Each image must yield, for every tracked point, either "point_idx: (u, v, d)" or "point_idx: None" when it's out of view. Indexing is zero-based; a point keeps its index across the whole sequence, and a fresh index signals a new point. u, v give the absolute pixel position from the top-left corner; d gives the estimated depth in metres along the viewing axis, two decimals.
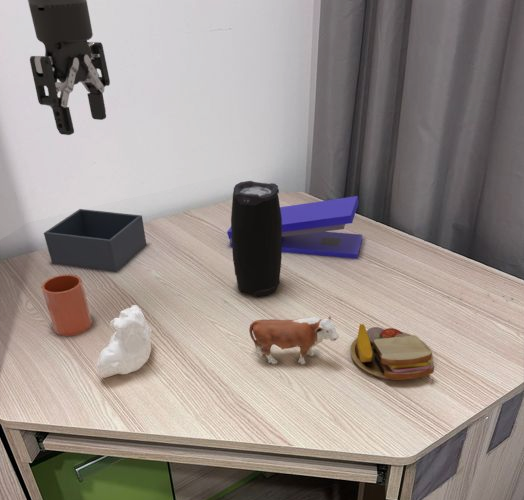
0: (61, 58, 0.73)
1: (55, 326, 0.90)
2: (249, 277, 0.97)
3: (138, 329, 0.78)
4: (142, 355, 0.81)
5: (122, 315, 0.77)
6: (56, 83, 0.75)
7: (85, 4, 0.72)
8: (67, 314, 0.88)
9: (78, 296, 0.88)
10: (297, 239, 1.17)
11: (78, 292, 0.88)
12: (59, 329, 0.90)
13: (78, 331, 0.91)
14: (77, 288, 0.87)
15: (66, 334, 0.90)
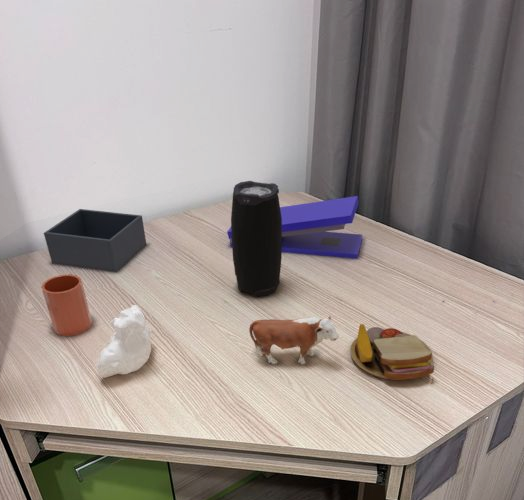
0: None
1: (55, 326, 0.90)
2: (249, 277, 0.97)
3: (138, 329, 0.78)
4: (142, 355, 0.81)
5: (122, 315, 0.77)
6: None
7: None
8: (67, 314, 0.88)
9: (78, 296, 0.88)
10: (297, 239, 1.17)
11: (78, 292, 0.88)
12: (59, 329, 0.90)
13: (78, 331, 0.91)
14: (77, 288, 0.87)
15: (66, 334, 0.90)
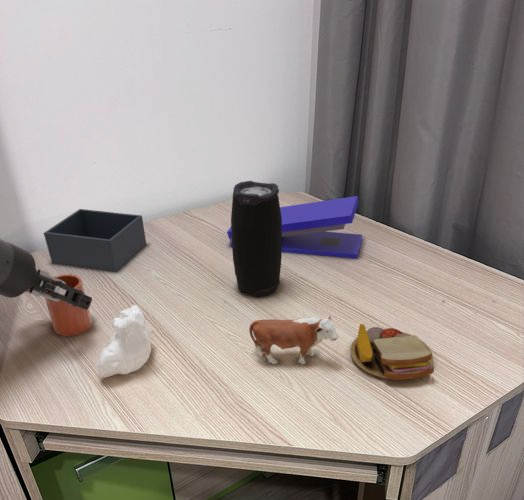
0: None
1: (55, 326, 0.90)
2: (249, 277, 0.97)
3: (138, 329, 0.78)
4: (142, 355, 0.81)
5: (122, 315, 0.77)
6: None
7: None
8: (67, 314, 0.88)
9: None
10: (297, 239, 1.17)
11: None
12: (59, 329, 0.90)
13: (78, 331, 0.91)
14: (77, 288, 0.87)
15: (66, 334, 0.90)
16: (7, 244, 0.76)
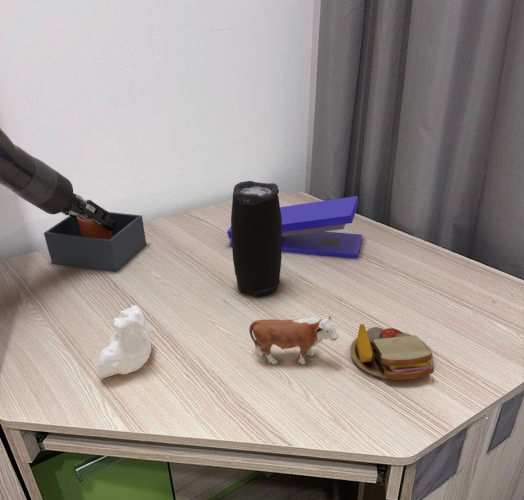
0: None
1: None
2: (249, 277, 0.97)
3: (138, 329, 0.78)
4: (142, 355, 0.81)
5: (122, 315, 0.77)
6: None
7: (38, 205, 0.98)
8: None
9: None
10: (297, 239, 1.17)
11: None
12: None
13: None
14: None
15: None
16: (52, 169, 0.97)
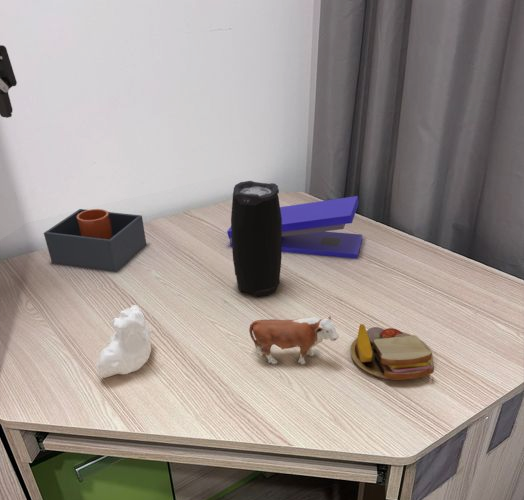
0: None
1: None
2: (249, 277, 0.97)
3: (138, 329, 0.78)
4: (142, 355, 0.81)
5: (122, 315, 0.77)
6: None
7: None
8: None
9: (105, 224, 1.10)
10: (297, 239, 1.17)
11: (106, 221, 1.10)
12: None
13: None
14: (105, 218, 1.09)
15: None
16: None
